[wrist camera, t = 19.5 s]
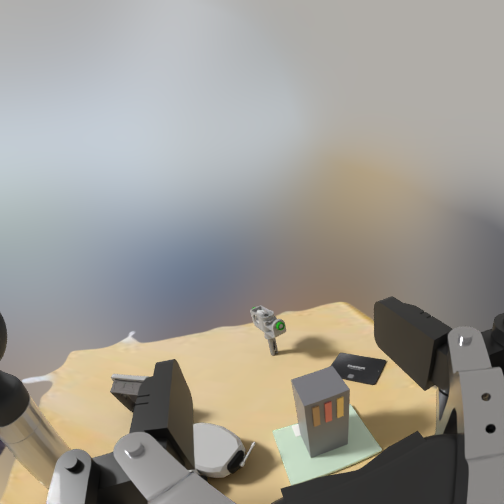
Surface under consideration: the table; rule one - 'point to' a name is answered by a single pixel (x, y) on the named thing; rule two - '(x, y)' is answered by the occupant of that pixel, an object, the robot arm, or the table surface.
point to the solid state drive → (358, 368)
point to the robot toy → (217, 451)
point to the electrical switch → (126, 389)
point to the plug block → (322, 410)
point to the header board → (309, 468)
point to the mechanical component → (268, 325)
